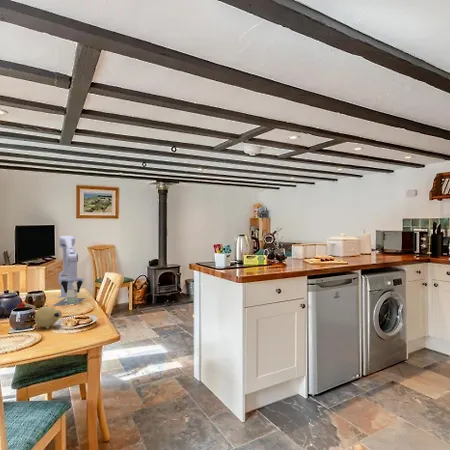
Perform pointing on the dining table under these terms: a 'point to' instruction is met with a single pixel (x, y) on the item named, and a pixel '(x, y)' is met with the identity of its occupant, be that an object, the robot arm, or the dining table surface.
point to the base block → (71, 300)
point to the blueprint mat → (64, 302)
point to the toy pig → (47, 317)
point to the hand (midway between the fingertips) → (72, 292)
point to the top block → (71, 292)
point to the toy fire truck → (25, 305)
